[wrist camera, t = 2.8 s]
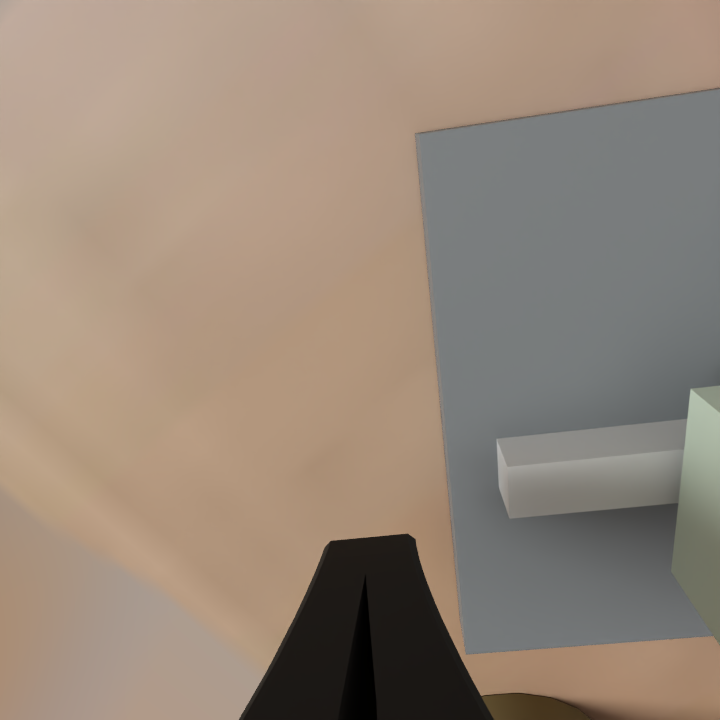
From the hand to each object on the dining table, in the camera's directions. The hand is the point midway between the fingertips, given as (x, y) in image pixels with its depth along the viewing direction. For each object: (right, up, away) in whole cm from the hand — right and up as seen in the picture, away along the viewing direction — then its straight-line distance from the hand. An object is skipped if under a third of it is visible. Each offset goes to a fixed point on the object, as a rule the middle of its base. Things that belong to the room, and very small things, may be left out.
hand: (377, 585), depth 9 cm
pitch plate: (+12, +3, +3) cm, 13 cm away
